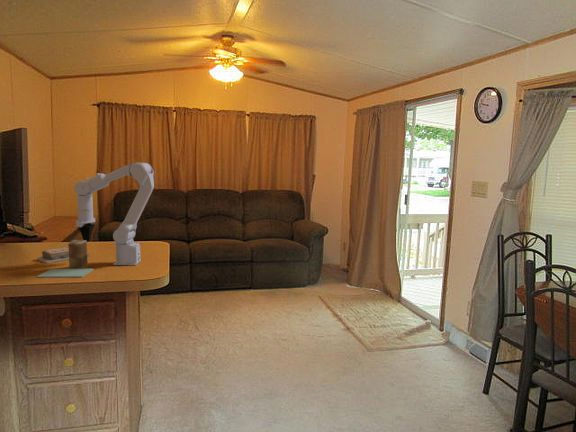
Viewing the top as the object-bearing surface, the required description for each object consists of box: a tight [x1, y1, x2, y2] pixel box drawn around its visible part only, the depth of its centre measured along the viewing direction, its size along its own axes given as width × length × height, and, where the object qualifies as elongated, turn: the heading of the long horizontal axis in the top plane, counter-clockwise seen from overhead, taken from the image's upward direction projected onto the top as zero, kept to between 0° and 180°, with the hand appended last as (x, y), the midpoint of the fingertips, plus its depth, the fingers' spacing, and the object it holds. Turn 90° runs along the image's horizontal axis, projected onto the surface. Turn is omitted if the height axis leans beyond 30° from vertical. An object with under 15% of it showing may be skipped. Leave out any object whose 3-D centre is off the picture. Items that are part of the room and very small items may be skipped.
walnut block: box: [67, 239, 89, 269], centre depth 164 cm, size 5×5×11 cm
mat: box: [36, 268, 94, 279], centre depth 156 cm, size 16×11×1 cm
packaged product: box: [37, 246, 90, 264], centre depth 181 cm, size 18×5×10 cm
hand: (86, 241), depth 172 cm, fingers closed
